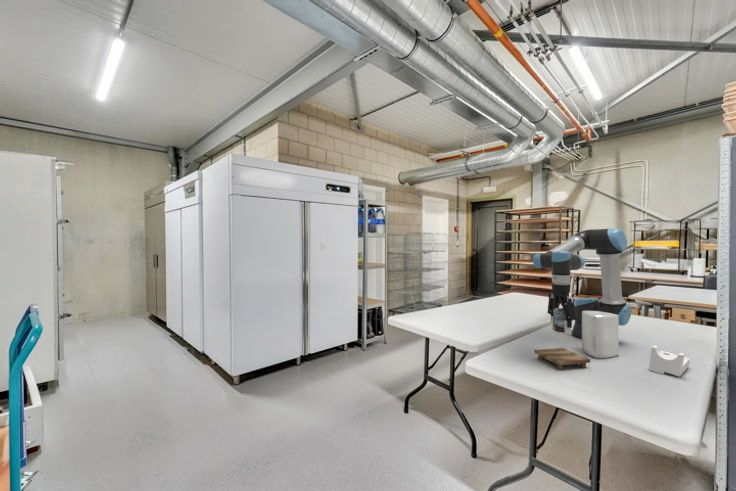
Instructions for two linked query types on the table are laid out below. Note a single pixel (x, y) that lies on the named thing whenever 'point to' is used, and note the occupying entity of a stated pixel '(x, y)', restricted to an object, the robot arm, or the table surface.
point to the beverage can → (559, 320)
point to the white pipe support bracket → (668, 362)
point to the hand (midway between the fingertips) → (561, 331)
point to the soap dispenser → (600, 334)
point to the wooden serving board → (562, 357)
